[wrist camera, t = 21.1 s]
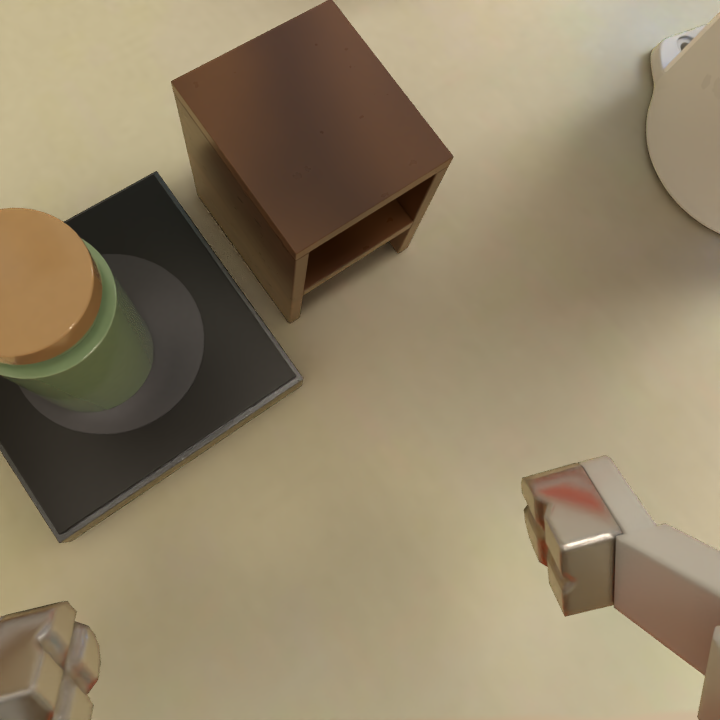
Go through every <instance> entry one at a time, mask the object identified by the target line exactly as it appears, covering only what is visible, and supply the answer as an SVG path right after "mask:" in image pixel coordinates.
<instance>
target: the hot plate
mask: <svg viewBox="0 0 720 720" xmlns="http://www.w3.org/2000/svg"><path fill="white" fill-rule="evenodd" d="M64 223H65V224H67V225H68V226H70V227H71V228H72V229H73V230H74V231H75V232H76V233H77V234H78V235H79V237H80V238H81V239H83V240H85V241H86V242H88V243H89V244H90V245H92V246H93V247H94V248H95V249H96V250H97V251H98V252H99V253H100V254H101V256H102V257H103V258H104V259H105V261H106V262H107V264H108V265H109V267H110V268H111V270H112V271H113V273H114V274H115V276H116V278H117V279H118V281H119V282H120V284H121V285H122V287H123V288H124V290H125V291H126V293H127V294H128V296H129V297H130V299H131V301H132V302H133V304H134V305H135V307H136V308H137V310H138V311H139V313H140V314H141V316H142V317H143V319H144V320H145V322H146V324H147V326H148V327H149V330H150V332H151V335H152V339H153V345H154V358H153V363H152V367H151V370H150V373H149V375H148V377H147V379H146V380H145V382H144V384H143V385H142V386H141V387H140V389H139V390H138V391H137V392H136V393H135V394H134V395H133V396H132V397H131V398H129V399H128V400H126V401H125V402H123V403H122V404H120V405H118V406H116V407H113V408H111V409H108V410H104V411H100V412H90V413H83V412H75V411H71V410H67V409H65V408H62V407H60V406H58V405H56V404H54V403H52V402H50V401H48V400H46V399H44V398H42V397H40V396H38V395H36V394H34V393H32V392H30V391H29V390H27V389H25V388H23V387H21V386H19V385H17V384H15V383H13V382H11V381H9V380H7V379H5V378H3V377H1V376H0V451H1V452H2V454H3V455H4V457H5V458H6V460H7V462H8V463H9V465H10V466H11V468H12V469H13V471H14V473H15V474H16V476H17V477H18V479H19V481H20V482H21V484H22V485H23V487H24V488H25V490H26V492H27V493H28V495H29V496H30V498H31V499H32V501H33V503H34V504H35V506H36V507H37V509H38V510H39V512H40V514H41V515H42V517H43V518H44V520H45V521H46V523H47V525H48V526H49V528H50V529H51V531H52V532H53V534H54V536H55V537H56V539H57V540H58V542H59V543H64V542H71V541H73V540H74V539H76V538H77V537H79V536H80V535H82V534H83V533H85V532H86V531H87V530H89V529H90V528H92V527H93V526H95V525H96V524H98V523H99V522H101V521H102V520H104V519H105V518H107V517H108V516H110V515H111V514H113V513H114V512H116V511H117V510H119V509H120V508H122V507H123V506H124V505H126V504H127V503H129V502H130V501H132V500H133V499H135V498H136V497H138V496H139V495H141V494H142V493H144V492H145V491H147V490H148V489H150V488H151V487H153V486H154V485H156V484H157V483H159V482H160V481H161V480H163V479H164V478H166V477H167V476H169V475H170V474H172V473H173V472H175V471H176V470H178V469H179V468H181V467H182V466H184V465H185V464H187V463H188V462H190V461H191V460H193V459H194V458H196V457H197V456H198V455H200V454H201V453H203V452H204V451H206V450H207V449H209V448H210V447H212V446H213V445H215V444H216V443H218V442H219V441H221V440H222V439H224V438H225V437H227V436H228V435H230V434H231V433H233V432H234V431H235V430H237V429H238V428H240V427H241V426H243V425H244V424H246V423H247V422H249V421H250V420H252V419H253V418H255V417H256V416H258V415H259V414H261V413H262V412H264V411H265V410H267V409H268V408H270V407H271V406H272V405H274V404H275V403H277V402H278V401H280V400H281V399H283V398H284V397H286V396H287V395H289V394H290V393H292V392H293V391H295V390H296V389H298V388H299V387H301V386H302V383H303V377H302V376H301V374H300V373H299V371H298V370H297V369H296V367H295V366H294V364H293V363H292V362H291V360H290V359H289V357H288V356H287V354H286V353H285V352H284V350H283V349H282V347H281V346H280V345H279V343H278V342H277V340H276V339H275V338H274V336H273V335H272V333H271V332H270V330H269V329H268V328H267V326H266V325H265V323H264V322H263V321H262V319H261V318H260V316H259V315H258V313H257V312H256V311H255V309H254V308H253V306H252V305H251V304H250V302H249V301H248V299H247V298H246V297H245V295H244V294H243V292H242V291H241V289H240V288H239V287H238V285H237V284H236V282H235V281H234V280H233V278H232V277H231V275H230V274H229V273H228V271H227V270H226V268H225V267H224V265H223V264H222V263H221V261H220V260H219V258H218V257H217V256H216V254H215V253H214V251H213V250H212V248H211V247H210V246H209V244H208V243H207V241H206V240H205V239H204V237H203V236H202V234H201V233H200V232H199V230H198V229H197V227H196V226H195V224H194V223H193V222H192V220H191V219H190V217H189V216H188V215H187V213H186V212H185V210H184V209H183V207H182V206H181V205H180V203H179V202H178V200H177V199H176V198H175V196H174V195H173V193H172V192H171V191H170V189H169V188H168V186H167V185H166V183H165V182H164V181H163V179H162V178H161V176H160V175H159V174H158V172H157V171H156V172H154V173H152V174H150V175H148V176H146V177H145V178H143V179H141V180H139V181H137V182H136V183H134V184H132V185H130V186H128V187H126V188H125V189H123V190H121V191H119V192H117V193H115V194H114V195H112V196H110V197H108V198H106V199H105V200H103V201H101V202H99V203H97V204H95V205H94V206H92V207H90V208H88V209H86V210H85V211H83V212H81V213H79V214H77V215H75V216H74V217H72V218H70V219H68V220H66V221H64Z"/></svg>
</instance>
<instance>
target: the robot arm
mask: <svg viewBox="0 0 720 720" xmlns="http://www.w3.org/2000/svg"><path fill="white" fill-rule="evenodd" d="M650 62H651V71H652V77H653V82H654V90H653V95H652V98H651V102H650V105H649V109H648V113H647V119H646V140H647V146H648V151H649V155H650V158H651V161H652V164H653V166H654V169H655V171H656V173H657V175H658V177H659V179H660V181H661V182H662V184H663V186H664V187H665V189H666V190H667V191H668V193H669V194H670V195H671V197H672V198H673V199H674V200H675V201H676V202H677V204H678V205H679V206H680V207H681V208H682V209H683V210H684V211H686V212H687V213H688V214H689V215H690V216H691V217H693V218H694V219H695V220H697V221H698V222H700V223H701V224H703V225H704V226H706V227H707V228H709V229H711V230H713V231H715V232H717V233H719V234H720V12H719V13H718V14H717V15H716V16H715V17H714V18H713V19H712V20H711V21H710V22H709V23H708V24H705V25H702V26H699V27H696V28H694V29H691V30H688V31H685V32H682V33H679V34H676V35H673V36H670V37H668V38H665V39H664V40H662V41H661V42H660V43H659V44H658V45H657V46H656V47H655V48H654V49H653V50H652V52H651V57H650ZM521 487H522V494H523V496H524V498H525V500H526V502H527V504H528V505H527V506H526V507H525V509H524V516H525V523H526V527H527V531H528V535H529V538H530V541H531V544H532V546H533V549H534V551H535V553H536V556H537V558H538V560H539V562H541V563H542V564H544V565H545V566H547V567H548V576H549V584H550V586H551V588H552V591H553V593H554V595H555V597H556V599H557V601H558V603H559V605H560V608H561V610H562V612H563V614H564V616H569V615H574V614H578V613H582V612H586V611H590V610H594V609H599V608H603V607H607V606H611V605H614V608H615V609H617V610H618V611H619V612H621V613H622V614H623V615H625V616H626V617H627V618H629V619H630V620H631V621H633V622H634V623H635V624H637V625H638V626H639V627H641V628H642V629H643V630H645V631H646V632H647V633H649V634H650V635H651V636H653V637H654V638H655V639H657V640H658V641H659V642H661V643H662V644H663V645H665V646H666V647H667V648H669V649H670V650H671V651H673V652H674V653H675V654H677V655H678V656H679V657H681V658H682V659H683V660H685V661H686V662H687V663H689V664H690V665H691V666H693V667H694V668H695V669H697V670H698V671H699V672H701V673H702V674H703V675H705V679H704V685H703V690H702V695H701V700H700V706H699V711H698V716H697V717H698V719H699V720H720V551H719V550H717V549H715V548H713V547H711V546H709V545H707V544H705V543H703V542H701V541H699V540H697V539H695V538H693V537H691V536H689V535H687V534H685V533H683V532H682V531H680V530H678V529H676V528H674V527H672V526H670V525H668V524H666V523H665V524H660V525H656V523H655V522H654V520H653V519H652V517H651V516H650V514H649V513H648V512H647V510H646V509H645V507H644V506H643V504H642V503H641V501H640V500H639V498H638V497H637V495H636V494H635V493H634V491H633V490H632V488H631V487H630V485H629V484H628V482H627V481H626V479H625V478H624V476H623V475H622V474H621V472H620V471H619V469H618V468H617V466H616V465H615V463H614V462H613V460H612V459H611V458H610V457H608V456H606V455H604V456H601V457H597V458H593V459H589V460H586V461H582V462H578V463H573V464H569V465H566V466H562V467H559V468H555V469H552V470H548V471H545V472H541V473H537V474H534V475H530V476H527V477H523V478H522V481H521ZM76 613H77V611H76V610H75V609H74V608H73V607H72V606H71V605H70V604H69V602H68V601H64V602H58V603H54V604H50V605H46V606H41V607H37V608H33V609H29V610H25V611H21V612H16V613H12V614H8V615H5V616H1V617H0V720H91V717H92V711H93V706H94V705H93V703H92V702H91V700H90V698H89V697H88V695H87V694H88V693H89V691H90V690H91V689H92V687H93V686H94V685H95V683H96V682H97V680H98V678H99V671H100V665H101V659H100V648H99V644H98V641H97V639H96V636H95V634H94V633H93V631H92V630H91V629H90V627H89V626H87V625H84V624H81V623H78V622H75V618H76Z"/></svg>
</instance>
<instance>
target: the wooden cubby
mask: <svg viewBox="0 0 720 720" xmlns="http://www.w3.org/2000/svg"><path fill="white" fill-rule="evenodd" d="M171 84H172V88H173V92H174V95H175V100H176V104H177V108H178V113H179V117H180V121H181V126H182V130H183V134H184V139H185V143H186V147H187V152H188V156H189V160H190V165H191V169H192V173H193V178H194V182H195V186H196V191H197V195H198V196H199V197H200V199H201V200H202V202H203V203H204V204H205V206H206V207H207V209H208V210H209V212H210V213H211V214H212V216H213V217H214V219H215V220H216V221H217V223H218V224H219V226H220V227H221V228H222V230H223V231H224V233H225V234H226V235H227V237H228V238H229V240H230V241H231V242H232V244H233V245H234V247H235V248H236V249H237V251H238V252H239V254H240V255H241V256H242V258H243V259H244V261H245V262H246V263H247V265H248V266H249V268H250V269H251V270H252V272H253V273H254V275H255V276H256V277H257V279H258V280H259V282H260V283H261V284H262V286H263V287H264V289H265V290H266V291H267V293H268V294H269V296H270V297H271V299H272V300H273V301H274V303H275V304H276V306H277V307H278V308H279V310H280V311H281V313H282V314H283V315H284V317H285V318H286V320H287V321H288V322H289V323H291V322H293V321H294V320H296V319H298V318H299V317H300V312H301V305H302V298H303V295H305V294H307V293H308V292H310V291H311V290H313V289H315V288H316V287H318V286H319V285H321V284H322V283H324V282H326V281H327V280H329V279H330V278H332V277H333V276H335V275H337V274H338V273H340V272H341V271H343V270H344V269H346V268H347V267H349V266H351V265H352V264H354V263H355V262H357V261H358V260H360V259H362V258H363V257H365V256H366V255H368V254H369V253H371V252H373V251H374V250H376V249H377V248H379V247H380V246H382V245H384V244H385V243H387V242H388V241H389V242H390V244H391V245H392V246H393V248H394V249H395V250H396V252H397V253H400V252H401V251H403V250H404V249H406V248H407V247H408V245H409V243H410V241H411V239H412V237H413V235H414V233H415V231H416V229H417V227H418V225H419V223H420V222H421V220H422V218H423V216H424V214H425V212H426V210H427V208H428V206H429V204H430V202H431V200H432V198H433V196H434V194H435V192H436V190H437V188H438V186H439V184H440V182H441V180H442V178H443V176H444V174H445V172H446V170H447V168H448V166H449V165H450V163H451V161H452V159H453V155H452V154H451V153H450V151H449V150H448V149H447V148H446V146H445V145H444V144H443V142H442V141H441V140H440V139H439V137H438V136H437V135H436V133H435V132H434V131H433V129H432V128H431V127H430V126H429V124H428V123H427V122H426V120H425V119H424V118H423V117H422V115H421V114H420V113H419V111H418V110H417V109H416V107H415V106H414V105H413V104H412V102H411V101H410V100H409V98H408V97H407V96H406V95H405V93H404V92H403V91H402V89H401V88H400V87H399V86H398V84H397V83H396V82H395V80H394V79H393V78H392V76H391V75H390V74H389V73H388V71H387V70H386V69H385V67H384V66H383V65H382V64H381V62H380V61H379V60H378V58H377V57H376V56H375V55H374V53H373V52H372V51H371V49H370V48H369V47H368V45H367V44H366V43H365V42H364V40H363V39H362V38H361V36H360V35H359V34H358V33H357V31H356V30H355V29H354V27H353V26H352V25H351V23H350V22H349V21H348V20H347V18H346V17H345V16H344V14H343V13H342V12H341V11H340V9H339V8H338V7H337V5H336V4H335V3H334V2H333V0H328V1H326V2H324V3H322V4H320V5H318V6H316V7H314V8H312V9H310V10H308V11H306V12H304V13H302V14H301V15H299V16H297V17H295V18H293V19H291V20H289V21H287V22H285V23H283V24H281V25H279V26H277V27H275V28H273V29H271V30H270V31H268V32H266V33H264V34H262V35H260V36H258V37H256V38H254V39H252V40H250V41H248V42H246V43H244V44H242V45H240V46H238V47H237V48H235V49H233V50H231V51H229V52H227V53H225V54H223V55H221V56H219V57H217V58H215V59H213V60H211V61H209V62H207V63H206V64H204V65H202V66H200V67H198V68H196V69H194V70H192V71H190V72H188V73H186V74H184V75H182V76H180V77H178V78H176V79H175V80H173V81H171Z"/></svg>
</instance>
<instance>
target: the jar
mask: <svg viewBox="0 0 720 720" xmlns="http://www.w3.org/2000/svg"><path fill="white" fill-rule="evenodd" d="M153 358H154V345H153V339H152V335H151V332H150V330H149V327H148V326H147V324H146V322H145V320H144V319H143V317H142V316H141V314H140V313H139V311H138V310H137V308H136V307H135V305H134V304H133V302H132V301H131V299H130V297H129V296H128V294H127V293H126V291H125V290H124V288H123V287H122V285H121V284H120V282H119V281H118V279H117V278H116V276H115V274H114V273H113V271H112V270H111V268H110V267H109V265H108V264H107V262H106V261H105V259H104V258H103V257H102V256H101V254H100V253H99V252H98V251H97V250H96V249H95V248H94V247H93V246H92V245H90V244H89V243H88V242H86V241H85V240H83V239H81V238H80V237H79V235H78V234H77V233H76V232H75V231H74V230H73V229H72V228H71V227H70V226H68V225H67V224H65V223H64V222H63V221H61V220H59V219H58V218H56V217H54V216H52V215H49V214H47V213H44V212H40V211H36V210H32V209H24V208H7V209H0V376H1V377H3V378H5V379H7V380H9V381H11V382H13V383H15V384H17V385H19V386H21V387H23V388H25V389H27V390H29V391H30V392H32V393H34V394H36V395H38V396H40V397H42V398H44V399H46V400H48V401H50V402H52V403H54V404H56V405H58V406H60V407H62V408H65V409H67V410H71V411H75V412H83V413H90V412H100V411H104V410H108V409H111V408H113V407H116V406H118V405H120V404H122V403H123V402H125V401H126V400H128V399H129V398H131V397H132V396H133V395H134V394H135V393H136V392H137V391H138V390H139V389H140V387H141V386H142V385H143V384H144V382H145V380H146V379H147V377H148V375H149V373H150V370H151V367H152V363H153Z"/></svg>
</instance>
